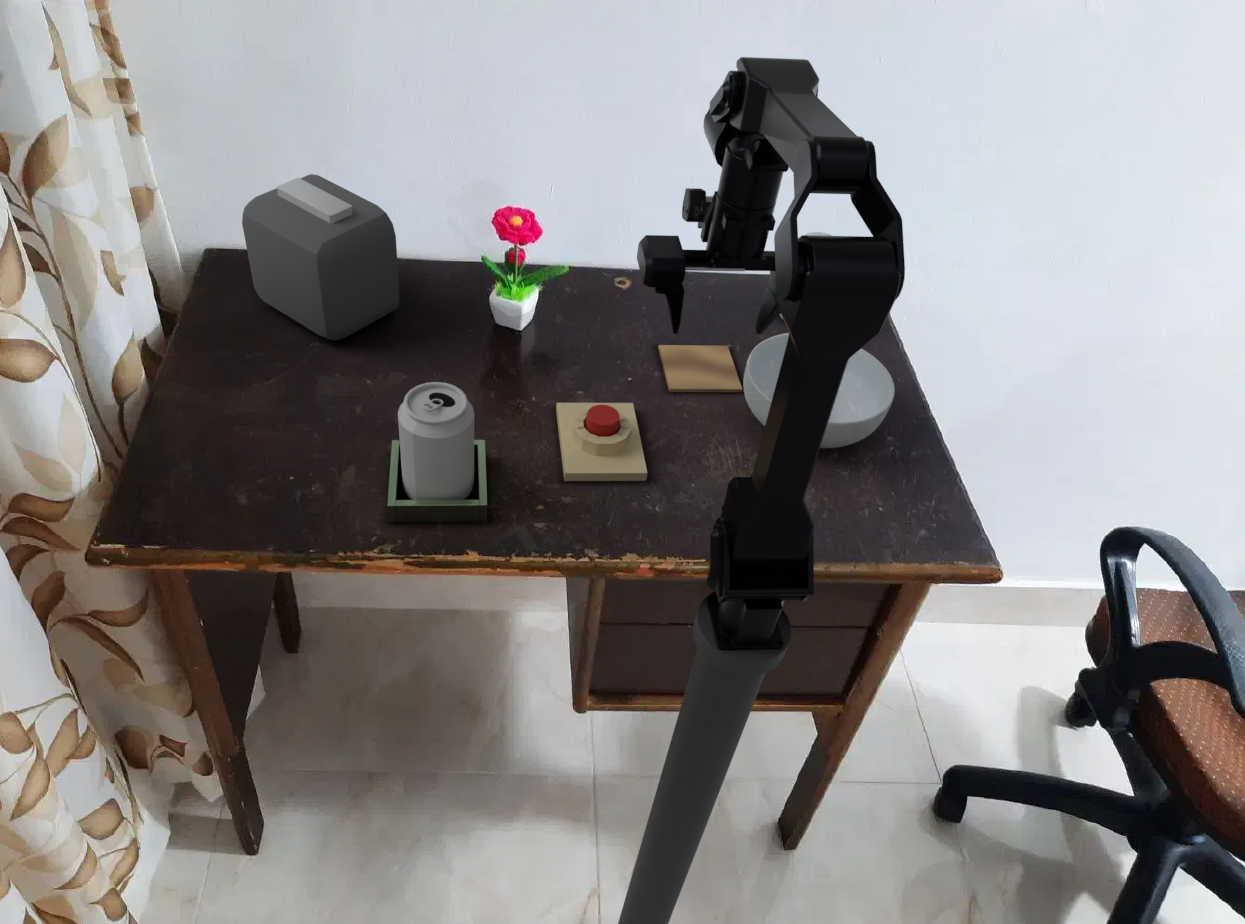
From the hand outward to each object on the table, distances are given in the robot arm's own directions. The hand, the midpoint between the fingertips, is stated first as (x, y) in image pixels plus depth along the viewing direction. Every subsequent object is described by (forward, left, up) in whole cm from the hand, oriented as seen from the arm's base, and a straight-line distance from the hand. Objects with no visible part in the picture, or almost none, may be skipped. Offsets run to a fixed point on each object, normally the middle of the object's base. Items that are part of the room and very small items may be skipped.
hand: (716, 332), depth 102 cm
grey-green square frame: (-11, +30, -12) cm, 34 cm away
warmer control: (-4, +12, -12) cm, 18 cm away
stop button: (-4, +12, -10) cm, 16 cm away
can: (-11, +30, -12) cm, 34 cm away
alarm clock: (+22, +45, -12) cm, 51 cm away
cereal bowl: (0, -13, -12) cm, 18 cm away
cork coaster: (+10, -2, -12) cm, 16 cm away
